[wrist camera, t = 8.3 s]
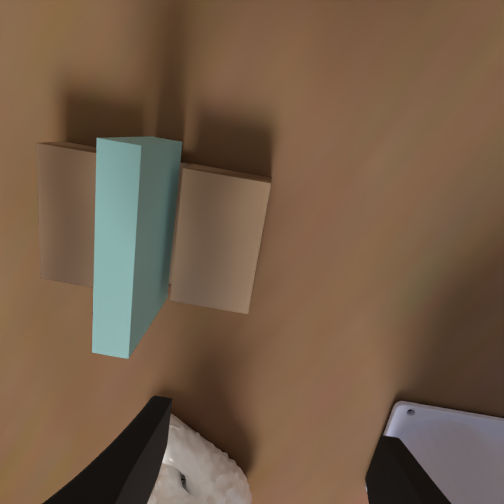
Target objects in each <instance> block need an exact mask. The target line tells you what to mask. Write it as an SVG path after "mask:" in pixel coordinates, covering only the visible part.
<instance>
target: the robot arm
mask: <svg viewBox="0 0 504 504" xmlns="http://www.w3.org/2000/svg"><path fill="white" fill-rule="evenodd" d="M171 407H172V399H171V398H165V397H159V396H153V397H152V398H151V399H150V400H149V401H148V403H147V404H146V405H145V407H144V408H143V409H142V410H141V411H140V413H139V414H138V415H137V416H136V417H135V418H134V419H133V421H132V422H131V423H130V424H129V425H128V426H127V427H126V428H125V429H124V430H123V432H122V433H121V434H120V435H119V436H118V437H117V438H116V439H115V440H114V441H113V442H112V443H111V444H110V445H109V446H108V447H107V448H106V449H105V450H104V451H103V452H102V453H101V454H100V455H99V456H98V457H97V458H96V459H95V460H94V461H92V462H91V463H90V464H89V465H88V466H87V467H86V468H85V469H84V470H83V471H82V472H80V473H79V474H78V475H77V476H76V477H75V478H74V479H72V480H71V481H70V482H69V483H68V484H66V485H65V486H64V487H63V488H62V489H60V490H59V491H58V492H57V493H55V494H54V495H53V496H52V497H50V498H49V499H48V500H46V501H45V502H44V503H42V504H147V503H148V500H149V498H150V495H151V493H152V490H153V488H154V485H155V483H156V480H157V478H158V475H159V471H160V468H161V465H162V461H163V458H164V454H165V451H166V447H167V443H168V434H169V425H170V416H171ZM410 409H412V410H411V411H408V410H410ZM365 480H366V483H365V488H366V491H367V494H368V500H369V504H504V418H499V417H493V416H487V415H481V414H475V413H470V412H464V411H458V410H452V409H447V408H441V407H435V406H429V405H423V404H418V403H412V402H406V401H399V402H397V403H395V405H394V407H393V409H392V412H391V415H390V418H389V420H388V423H387V426H386V429H385V431H384V434H383V435H381V437H380V440H379V443H378V445H377V448H376V451H375V454H374V456H373V459H372V462H371V465H370V468H369V470H368V473H367V476H366V479H365Z"/></svg>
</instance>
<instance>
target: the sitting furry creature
mask: <svg viewBox="0 0 504 504" xmlns="http://www.w3.org/2000/svg"><path fill="white" fill-rule="evenodd" d="M181 478H182V479H186V480H183V481H182V482H181ZM249 488H250V487H249V484H248V483H247V478H246V476H245V475H244V473H243V472H242V469H241V468H240V467H238V466H237V465H236V462H235V460H233V459H229V458H228V454H227V453H225V452H222V451H221V450H220V449H218V448H216V447H215V446H214V444H213V443H211V442H209V441H207V440H206V439H204V438H203V437H202V436H200V434H199V432H195V431H194V430H193V429H191V428H190V427H189V426H187V425H186V424H185V423H183V422H182V421H181V420H180V419H179V418H178V417H176V416H174V415H173V414H171V416H170V425H169V434H168V443H167V447H166V451H165V454H164V458H163V461H162V465H161V468H160V471H159V475H158V478H157V480H156V483H155V485H154V488H153V490H152V493H151V495H150V498H149V500H148V503H147V504H251V503H252V502H251V499H252V493H251V492H250V491H249Z"/></svg>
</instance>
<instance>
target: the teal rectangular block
mask: <svg viewBox="0 0 504 504" xmlns="http://www.w3.org/2000/svg"><path fill="white" fill-rule="evenodd" d="M181 151H182V142H181V141H175V140H169V139H164V138H158V137H152V136H148V137H111V138H97V146H96V194H95V241H94V289H93V336H92V353H98V354H104V355H109V356H115V357H121V358H127V359H129V357H130V356H131V354H132V352H133V351H134V349H135V348H136V346H137V345H138V343H139V341H140V340H141V338H142V337H143V335H144V334H145V332H146V331H147V329H148V327H149V326H150V324H151V323H152V321H153V320H154V318H155V316H156V315H157V313H158V312H159V310H160V309H161V307H162V305H163V304H164V302H165V301H166V299H167V296H168V285H169V275H170V265H171V254H172V244H173V234H174V223H175V213H176V203H177V192H178V182H179V171H180V161H181Z"/></svg>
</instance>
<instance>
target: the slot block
mask: <svg viewBox="0 0 504 504" xmlns="http://www.w3.org/2000/svg"><path fill="white" fill-rule="evenodd" d="M36 158H37V187H38V216H39V245H40V274H41V279H47V280H53V281H58V282H64V283H70V284H76V285H82V286H87V287H93V288H94V241H95V194H96V147H94V146H88V145H82V144H76V143H70V142H45V143H36ZM270 187H271V177H267V176H262V175H256V174H250V173H244V172H238V171H233V170H227V169H221V168H215V167H209V166H204V165H198V164H192V163H186V162H180V171H179V182H178V192H177V203H176V213H175V223H174V234H173V244H172V254H171V265H170V275H169V284H172V286H171V296H170V301H174V302H180V303H186V304H192V305H197V306H203V307H209V308H215V309H221V310H226V311H232V312H238V313H244V314H248V310H249V304H250V299H251V293H252V288H253V282H254V276H255V271H256V265H257V260H258V254H259V249H260V243H261V237H262V232H263V226H264V221H265V215H266V209H267V204H268V198H269V193H270Z"/></svg>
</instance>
